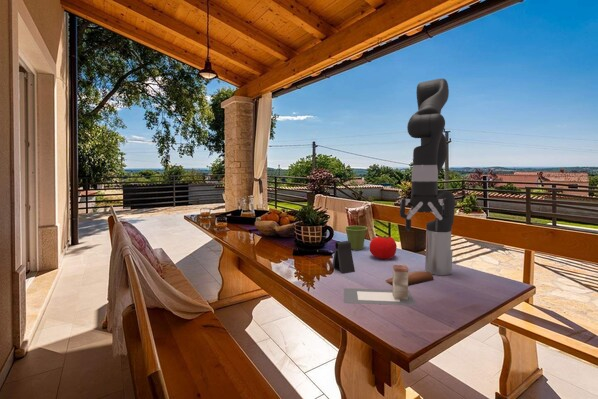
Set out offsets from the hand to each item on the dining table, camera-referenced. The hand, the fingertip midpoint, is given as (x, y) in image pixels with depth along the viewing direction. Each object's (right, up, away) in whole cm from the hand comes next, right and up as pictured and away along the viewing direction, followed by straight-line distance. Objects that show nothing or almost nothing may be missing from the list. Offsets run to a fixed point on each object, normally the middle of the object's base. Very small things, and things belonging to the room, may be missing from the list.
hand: (423, 231), depth 100 cm
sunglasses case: (+1, -22, +17) cm, 28 cm away
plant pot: (-9, -16, +67) cm, 70 cm away
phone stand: (-21, -20, +34) cm, 44 cm away
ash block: (-7, -22, +2) cm, 23 cm away
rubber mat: (-14, -22, +3) cm, 26 cm away
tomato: (+1, -18, +50) cm, 53 cm away
